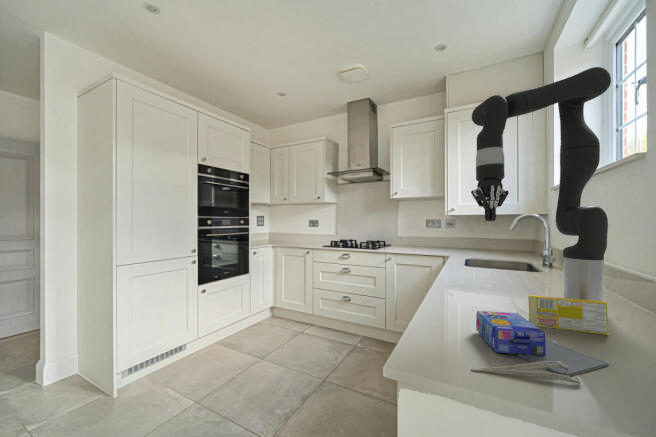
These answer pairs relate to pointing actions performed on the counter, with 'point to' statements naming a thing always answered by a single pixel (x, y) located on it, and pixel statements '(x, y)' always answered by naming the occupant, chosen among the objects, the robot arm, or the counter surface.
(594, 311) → the candy box
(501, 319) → the ink cartridge box
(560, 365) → the animal jaw bone
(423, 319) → the counter surface
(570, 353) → the mat
